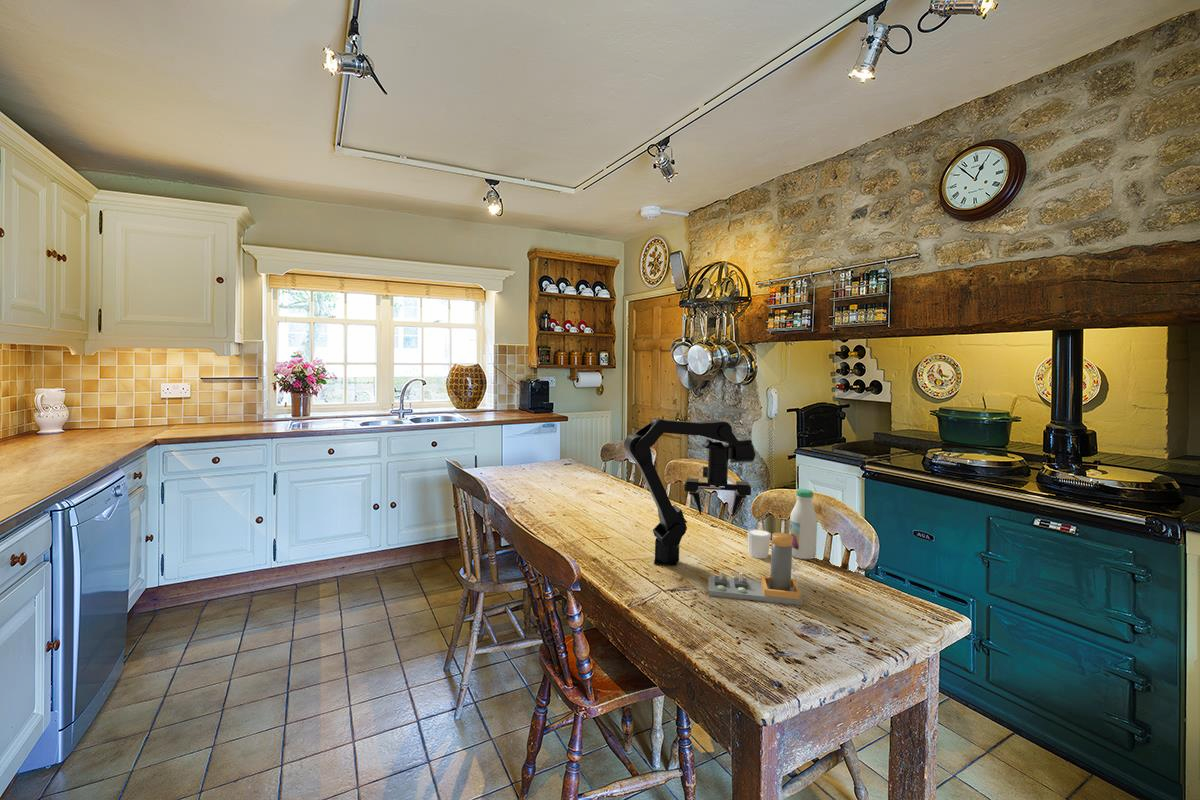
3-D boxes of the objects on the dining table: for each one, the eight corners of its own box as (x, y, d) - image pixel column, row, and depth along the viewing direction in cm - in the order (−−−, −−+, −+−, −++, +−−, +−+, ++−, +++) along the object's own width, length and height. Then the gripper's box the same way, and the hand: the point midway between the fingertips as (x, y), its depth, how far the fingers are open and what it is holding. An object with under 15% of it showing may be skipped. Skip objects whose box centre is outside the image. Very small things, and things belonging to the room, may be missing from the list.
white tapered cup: (771, 560, 151) (772, 537, 150) (747, 558, 152) (748, 535, 152) (768, 552, 158) (769, 529, 157) (745, 550, 159) (746, 528, 159)
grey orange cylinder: (768, 591, 127) (770, 536, 126) (771, 584, 131) (774, 531, 130) (788, 596, 125) (790, 540, 124) (791, 588, 129) (794, 534, 128)
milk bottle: (814, 552, 158) (817, 488, 156) (816, 561, 150) (819, 494, 149) (788, 549, 160) (790, 486, 159) (788, 558, 153) (791, 492, 152)
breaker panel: (708, 595, 127) (709, 579, 127) (708, 580, 136) (708, 565, 136) (802, 605, 123) (803, 588, 123) (795, 589, 132) (796, 573, 131)
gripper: (748, 459, 156) (746, 510, 157) (686, 456, 159) (685, 505, 160) (752, 466, 145) (750, 520, 146) (685, 463, 148) (683, 516, 150)
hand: (716, 515), depth 151 cm, fingers open, 9 cm apart
